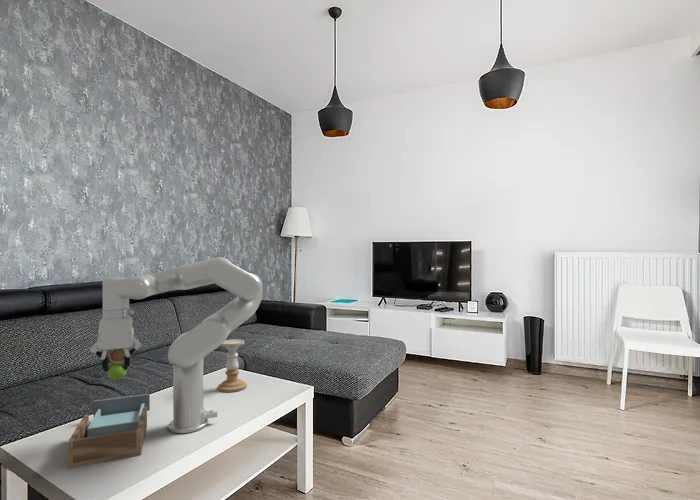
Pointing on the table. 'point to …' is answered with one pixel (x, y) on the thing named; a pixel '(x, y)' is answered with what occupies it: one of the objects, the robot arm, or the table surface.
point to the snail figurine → (116, 364)
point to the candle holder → (232, 368)
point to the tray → (117, 414)
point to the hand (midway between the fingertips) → (116, 369)
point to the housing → (105, 443)
